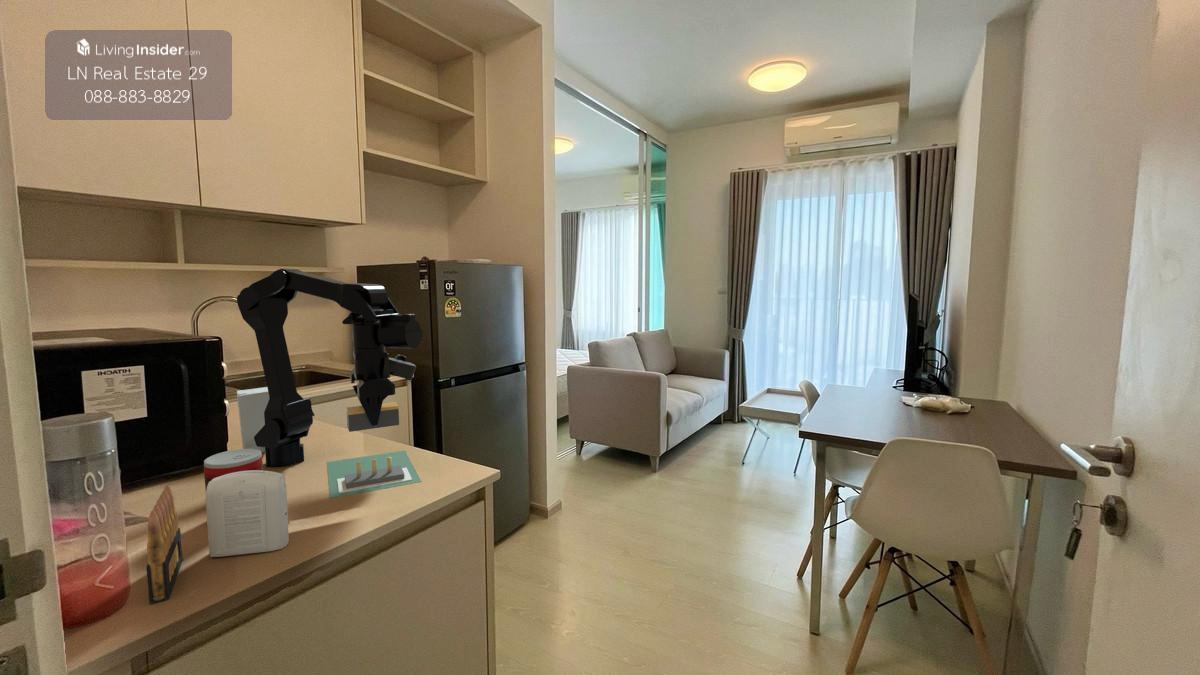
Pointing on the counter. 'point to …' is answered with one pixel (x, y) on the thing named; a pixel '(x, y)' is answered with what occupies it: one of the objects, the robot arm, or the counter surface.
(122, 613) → the counter surface
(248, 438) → the skincare box
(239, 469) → the canned food
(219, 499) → the photo printer
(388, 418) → the yellow and grey block
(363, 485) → the board
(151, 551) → the ammunition clip
